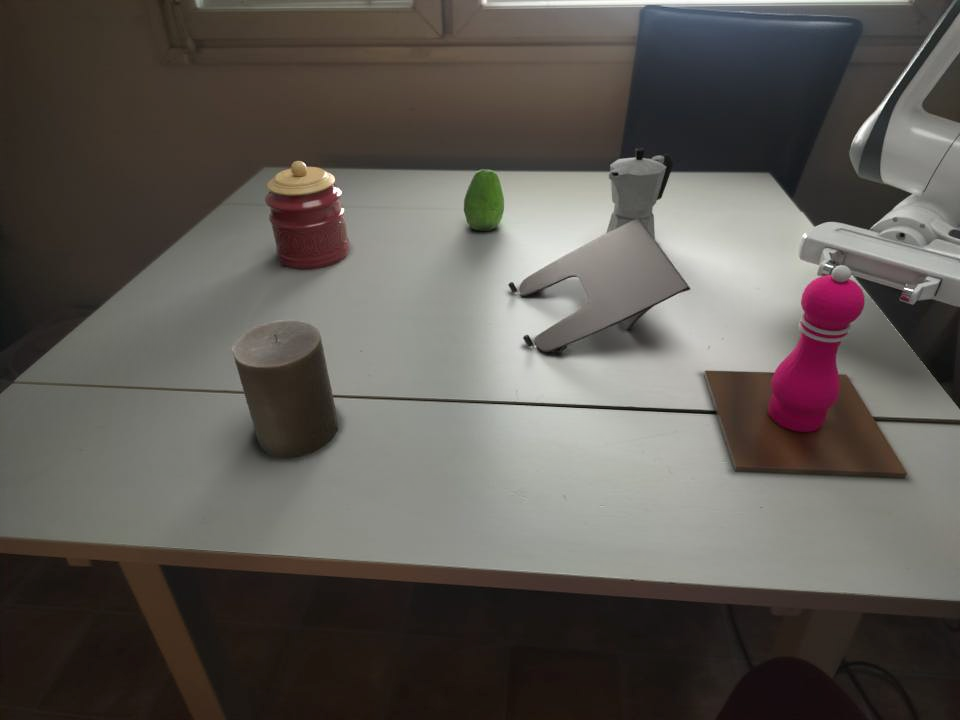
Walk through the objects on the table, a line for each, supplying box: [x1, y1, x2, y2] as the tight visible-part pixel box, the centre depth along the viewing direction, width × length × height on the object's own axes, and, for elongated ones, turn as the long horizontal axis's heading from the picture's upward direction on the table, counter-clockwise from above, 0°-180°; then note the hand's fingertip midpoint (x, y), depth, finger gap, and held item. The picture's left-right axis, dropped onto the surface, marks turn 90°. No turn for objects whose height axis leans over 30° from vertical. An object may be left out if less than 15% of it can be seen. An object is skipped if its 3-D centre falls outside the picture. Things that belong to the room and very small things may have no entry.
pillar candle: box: [230, 318, 340, 459], centre depth 77 cm, size 10×10×15 cm
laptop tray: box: [508, 218, 691, 355], centre depth 100 cm, size 23×23×9 cm
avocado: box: [463, 168, 505, 232], centre depth 126 cm, size 8×8×12 cm
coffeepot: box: [605, 147, 674, 240], centre depth 117 cm, size 15×9×18 cm, turn 126°
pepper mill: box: [768, 265, 866, 432], centre depth 74 cm, size 7×7×20 cm
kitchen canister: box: [264, 160, 351, 270], centre depth 117 cm, size 13×13×18 cm
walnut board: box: [703, 370, 908, 479], centre depth 80 cm, size 18×18×2 cm
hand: (864, 284), depth 79 cm, fingers open, 8 cm apart
